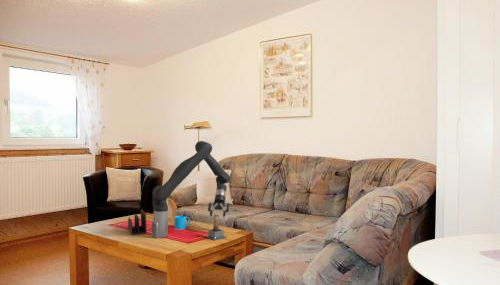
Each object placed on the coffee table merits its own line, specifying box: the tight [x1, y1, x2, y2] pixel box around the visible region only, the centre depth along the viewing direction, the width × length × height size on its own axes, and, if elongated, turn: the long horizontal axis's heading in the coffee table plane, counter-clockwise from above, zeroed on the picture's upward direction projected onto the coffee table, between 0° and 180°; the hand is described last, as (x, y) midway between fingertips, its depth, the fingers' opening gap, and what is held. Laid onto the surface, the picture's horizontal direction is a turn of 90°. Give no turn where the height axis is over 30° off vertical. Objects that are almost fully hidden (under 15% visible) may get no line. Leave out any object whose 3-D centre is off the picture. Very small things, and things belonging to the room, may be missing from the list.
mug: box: [174, 215, 191, 230], centre depth 273 cm, size 12×8×8 cm
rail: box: [212, 214, 220, 232], centre depth 247 cm, size 4×4×14 cm
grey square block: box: [205, 228, 228, 241], centre depth 247 cm, size 10×10×5 cm
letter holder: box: [127, 209, 148, 236], centre depth 261 cm, size 10×20×14 cm, turn 25°
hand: (217, 216), depth 257 cm, fingers open, 8 cm apart
